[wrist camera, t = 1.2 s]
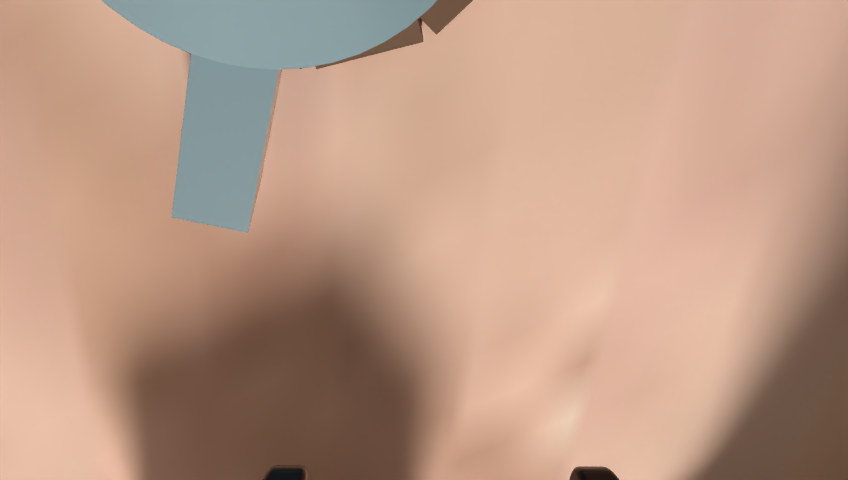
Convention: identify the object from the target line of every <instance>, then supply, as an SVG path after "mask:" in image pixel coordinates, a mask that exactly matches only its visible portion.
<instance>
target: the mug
mask: <svg viewBox="0 0 848 480" xmlns="http://www.w3.org/2000/svg"><path fill="white" fill-rule="evenodd" d="M102 1H103V2H104V3H106V4H107V5H108V6H109V7H110V8H112V9H113V10H114V11H116V12H117V13H119V14H120V15H121V16H123V17H124V18H125V19H127V20H128V21H130V22H131V23H132V24H134V25H135V26H137V27H139V28H140V29H142V30H144V31H146V32H147V33H149V34H151V35H153V36H154V37H156V38H158V39H160V40H161V41H163V42H165V43H168V44H170V45H172V46H175V47H177V48H179V49H181V50H184V51H186V52H188V53H191V59H190V67H189V76H188V84H187V92H186V101H185V109H184V118H183V126H182V134H181V143H180V151H179V160H178V168H177V176H176V185H175V193H174V202H173V210H172V218H177V219H182V220H187V221H192V222H197V223H202V224H207V225H212V226H217V227H222V228H227V229H232V230H237V231H241V232H246V233H248V231H249V227H250V223H251V219H252V215H253V211H254V207H255V203H256V199H257V195H258V191H259V187H260V182H261V177H262V172H263V166H264V161H265V156H266V151H267V146H268V140H269V135H270V130H271V125H272V120H273V114H274V109H275V104H276V99H277V94H278V88H279V83H280V78H281V73H282V69H296V68H308V67H313V66H318V65H323V64H329V63H333V62H337V61H340V60H343V59H346V58H349V57H352V56H355V55H358V54H360V53H363V52H365V51H367V50H369V49H371V48H373V47H375V46H377V45H379V44H382V43H384V42H385V41H387V40H388V39H390V38H392V37H393V36H395V35H396V34H398V33H399V32H401V31H402V30H404V29H405V28H407V27H408V26H410V25H411V24H412V23H413V22H414V21H416V20H417V19H418V18H419V17H420V16H421V15H423V14H424V13H425V12H426V11H427V10H428V9H430V8H431V7H432V6H433V4H434V3H435V2H436V1H437V0H102Z"/></svg>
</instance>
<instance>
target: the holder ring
mask: <svg viewBox="0 0 848 480" xmlns="http://www.w3.org/2000/svg"><path fill="white" fill-rule="evenodd" d="M472 1H473V0H437V1H436V2H435V3H434V4H433V6H432V7H431V8H430V9H428V10H427V11H426V12H425V13H424V14H423V15H421V16H420V18H421V19H422V20H423V21H424V22H425V23H426V24H427V25H428V26H429V28H430V29H431V30H432V31H433V32H434V33H435V34H436V35H437V34H438V33H439V32H440V31H441V30H442V29H443V28H444V27H445V26H446V25H447V24H448V23H449V22H450V21H451V20H452V19H454V18H455V17H456V16H457V15H458V14H459V13H460V12H461V11H462V10H463V9H464V8H465V7H466V6H467V5H468V4H469V3H471V2H472ZM421 42H423V35H422V27H421V24H420V20H419V18H418V19H417V20H416V21H414V22H413V23H412V24H411V25H410V26H408V27H407V28H405V29H404V30H402V31H401V32H399V33H398V34H396V35H395V36H393V37H392V38H390V39H388V40H387V41H385V42H384V43H382V44H379V45H377V46H375V47H373V48H371V49H369V50H367V51H365V52H363V53H360V54H358V55H355V56H352V57H349V58H346V59H343V60H340V61H337V62H333V63H329V64H323V65H318V66H316V69H319V68H323V67H326V66H330V65H334V64H338V63H342V62H346V61H350V60H354V59H358V58H362V57H366V56H370V55H374V54H377V53H381V52H385V51H389V50H393V49H397V48H401V47H405V46H409V45H413V44H417V43H421ZM299 69H302V68H299Z"/></svg>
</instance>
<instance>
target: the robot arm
mask: <svg viewBox="0 0 848 480" xmlns="http://www.w3.org/2000/svg"><path fill="white" fill-rule="evenodd" d="M263 480H308V470H307V468H306V467H304V466H301V465H277V466H274V467H272V468H271V469H270V470H269V471H268V472H267V474H266V475H265V477H264V478H263ZM570 480H619V479H618V478H617V476H616V475H615V474H614V473H613V472H612V471H611V470H610V469H608V468H606V467H576V468H575V469H574V470H573V471H572V473H571V476H570Z"/></svg>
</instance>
